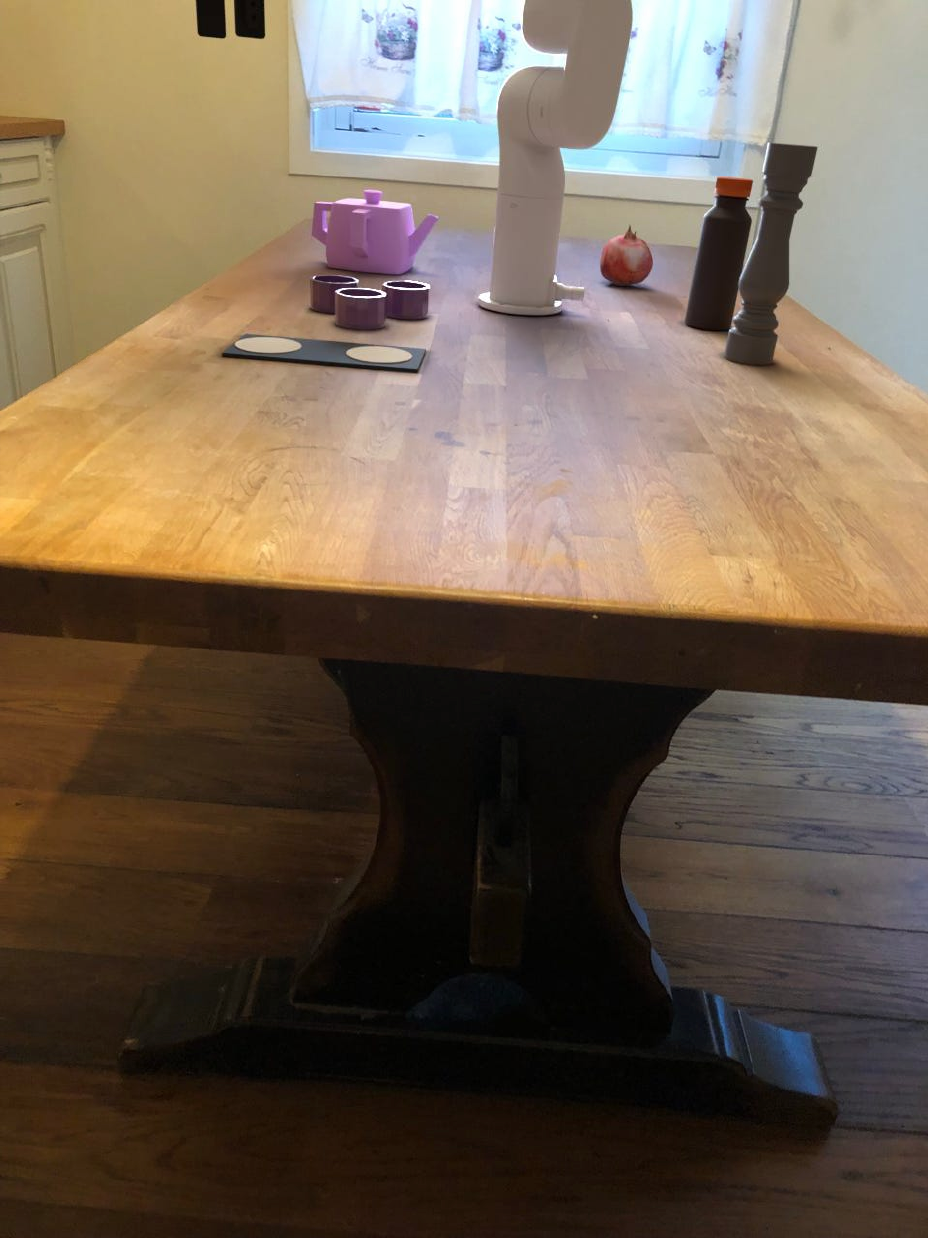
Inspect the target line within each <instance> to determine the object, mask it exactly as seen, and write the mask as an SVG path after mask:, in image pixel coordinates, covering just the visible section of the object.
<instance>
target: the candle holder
mask: <svg viewBox="0 0 928 1238" xmlns="http://www.w3.org/2000/svg"><path fill="white" fill-rule="evenodd" d="M818 148H819V146H815V145H807V144H806V145H804V144H795V143H794V144H792V143H781V142H767V146H766V151H765V155H764V161H763V165H762V171H761V172H762V173H763V178H762V180H763V183H764V189H765V194H764V195H763V196H761V197H760V198H759V199H758V203H757V204H758V206H759V207H760V211H761V216H760V220H759V225H758V231H757V236H756V238H755V241H754V243H753V246H752V248H751V250H750V253H749V255H748V257H747V260H746V262H745V263H744V264H745V265H744V266H743V268H742V273H741V276H740V278H739V283H738V292H739V296H740V298H741V299H742V301H741V305H742V308H741V309H740V310H739V311H738V312H737V314H736V315H735V316H733V318H732V324H733V325H734V326H733V327H730V328H729V329H728V332H727V338H726V343H725V348H724V351H723V352H724V353H723V357H724V358H725V359H726V360H729V361H731V362H735V363H738V364H744V365H752V366H766V365H771V364H772V363H773V361H774V355H775V352H776V348H777V343H778V338H779V335H778V334H777V333H776V332H775V330H777V328H778V327H779V325H780V323H779V321H778V320H777V315H776V313H775V310H776V309H777V308H778V303H780V301H782V300H783V298H784V297H785V296H786V294H787V292H788V290H789V287H790V239H791V234H792V229H793V225H794V221H795V215H796V214H798V211H800V210H802V208H803V206H804V202H803V201H802V199H801V198H800V193H802V192H803V189H804V188H805V187H806V186H807V185H808V181H809V178H811V177H812V176H813V170H814V167H815V162H816V161H815V160H816V156H817V153H818Z"/></svg>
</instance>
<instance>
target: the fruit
mask: <svg viewBox="0 0 928 1238" xmlns="http://www.w3.org/2000/svg"><path fill="white" fill-rule="evenodd" d="M653 265H654V259H653V255H652V252H651V249H650V247H649V245H648V243H647V242H646V241H645V240H644V239H642V238H641V237H638V236H637V230H635V231H634V232H633V231H632V226H631V224H629V225H628V229H627V230H626V232H625V234H621V235H617V236H615V237H613V238H612V239H610V240H609V241H607V242H606V243H605V244H604V246H603V248H602V250H601V252H600V258H599V270H600V274H601V276H602V278H604V279H605V280H607V281H609V282H611V283H613V284H614V285H615V286H618V287H626V286H632V285H638V284H641V283H642V282H644V281H645V280H646V279H647V278H648V277H649V275H650V273H651V272H652V269H653Z"/></svg>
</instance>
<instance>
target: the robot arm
mask: <svg viewBox="0 0 928 1238" xmlns="http://www.w3.org/2000/svg"><path fill="white" fill-rule="evenodd" d="M633 11H634V10H633V3H632V0H523V3H522V10H521V17H520V19H521V20H520V26H521V27H520V29H521V35H522V39H523V41H524V43H525V44H526V45H527V47H528V48H530V50H532V51H534V52H535V53H538V54H541V55H549V56H558V57H559V56H560V57H565V61H564V66H561V65H560V66H559V65H529V66H525V67H522V68H519V69H517V70H515V71H514V72H512V73H511V74H510V75H509V76H507V78H506V79H505V80H504V82H503V84H502V86H501V88H500V89H499V93H498V96H497V101H496V124H497V134H498V150H499V151H498V152H499V153H498V154H499V157H498V158H499V160H498V180H497V192H496V203H495V204H496V205H495V213H494V214H495V216H494V228H493V241H492V255H491V266H490V280H489V290H488V291H489V292H485V293H482V294H480V295H479V296H478V302H477V303H478V305H479V306H480V307H481V308H484V309H486V310H490V311H492V312H493V311H494V312H498V313H503V314H510V315H518V316H549V315H555V314H559V313H561V311H562V310H563V309H562V307H563V303H562V300H569V301H570V300H571V301H574V302H575V301H576V302H584V298H585V287H581V286H576V285H564V283H560V282H559V283H558V279H557V275H556V269H557V259H558V253H559V251H558V250H559V241H560V233H561V222H562V214H563V204H564V197H565V188H566V174H565V172H566V171H565V164H564V160H563V156H562V152H561V149H567V150H588V149H591V148H594V147H595V146H596V145H598V144H599V143H600V142H602V140H603V139H604V138H605V136H606V135H607V134H608V132H609V130H610V128H611V125H612V124H613V120H614V117H615V114H616V110H617V105H618V102H619V101H618V100H619V96H620V91H621V86H622V82H623V76H624V71H625V66H626V61H627V56H628V52H629V46H630V41H631V36H632V35H631V34H632V30H633V19H634V17H633V15H634V14H633V13H634V12H633ZM195 12H196V13H195V14H196V25H197V26H196V29H197V31H196V32H197V35H198V36H199V37H202V38H213V39H226V37H227V17H226V0H195ZM233 13H234V14H233V18H234V34H235V35H236V37H238V38H247V39H258V40H264V39H265V38H266V15H265V14H266V12H265V0H233Z"/></svg>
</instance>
